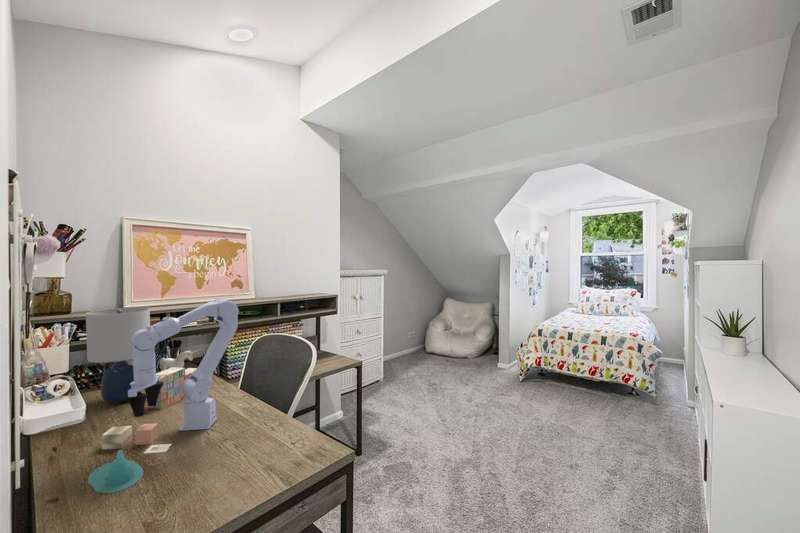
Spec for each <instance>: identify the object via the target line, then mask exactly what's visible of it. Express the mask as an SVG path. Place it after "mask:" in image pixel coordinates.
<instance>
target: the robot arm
mask: <svg viewBox="0 0 800 533" xmlns="http://www.w3.org/2000/svg"><path fill="white" fill-rule="evenodd" d="M239 313H240V310H239V307H238V305H237V304H236V303H235V301H233V300H227V299H224V298H216V299H214V300H211V301H208V302H206V303H204V304H202V305H200V306H198V307H196V308H194V309H192V310H190V311H188V312H186V313H185V314H183V315H181V316H178V317H177V318H176V317H172V316H170V317H167V316H165V317H163V318H162V319H161V321H159V322H157V323H155V324H152V325H151V324H150V325H149V326H147V327H146V328H147V330H146V329H141V330H138V331H136V332H135V333H134V334H133V335H132V337H131V339H130V341H131V344H132V345H133V346H135V347H133V353H134V354H133V359H132V365H133V370H134V382H132V383H130V386H132V387H131V389H130V390H128V394H127V395H126V396H125V399H126V400H127V401H126V402H128V404H129V406H130V407H131V410H132V412H133V416H134V417H135V418H137V417H138V418H140V417H143V416H144V415H145V414H144V413H145V405H146V402H147V407H148V406H156V404H157V400H158V396H159V393H160V390H161V388H162V386H163V382H158V381H160V375H156V374H157V370H156V352H155V349H156V348H155V346H157V344H158V343H160V342H162V341H165V340H166V339H168V338H170V337H173V336H175V335H177V334H178V333H180V332H181V329H182V327H184V326H187V325H190V324H192V323H194V322H197V321H199V320H201V319H203V318H206V317H212V318H213V317H215V318H216V319H217V323H218V324H219V329H218V330H217V332H216V334H215V336H214V338H213V340H212V341H211V344H209V347H208V348H207V351H206V352H205V354H204V357H203V358H202V360H201V361H200V363H199V365H198V366H197V367H196V368H197V369H196V370H195V371H194V372H192V373H191V375H190V377H189V378H188V379H186V380H185V381H184V382H183V384H182V387H181V389H182V392H183V393H184V394H185V398H183V425H181V427H180V428H179V429H178V431H180V432H181V431H196V430H198V431H199V430H209V429H210V428H211V427H212V425H214V423H215V422H216V420H217V419H218V418H217V401H216V399H215V398H211V397H209V394H210V391H211V390H210V389H211V385H212V383H213V374H214V372H215V370H216V369H217V367H218V364H220V362H221V360H222V357H223V356H224V354H225V351H226V350H227V348H228V346H229V345H230V342H231V341H232V340H233V337H234V335H235V334H236V332H237V330H238V326H239V324H238V323H239V321H238V320H239ZM143 391H144V392H145V393H143Z"/></svg>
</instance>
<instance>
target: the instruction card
mask: <svg viewBox="0 0 800 533" xmlns="http://www.w3.org/2000/svg"><path fill="white" fill-rule="evenodd" d="M172 444H173V443H167V444H165V443H163V444H153V445H152V444H150V446H149V447H148V448H147V449H146V450H145V451H144V452H143V453H142V454H143V455H144V454H145V455H146V454H156V453H157V454H160V453H161V454H162V453H166V452H167V451H168V450H169V449H170V448H171V447H172V446H171V445H172ZM170 446H171V447H170ZM169 447H170V448H169Z"/></svg>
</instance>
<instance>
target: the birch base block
mask: <svg viewBox="0 0 800 533" xmlns="http://www.w3.org/2000/svg"><path fill="white" fill-rule="evenodd" d="M132 440H133V425H122V426H121V425H120V426H112V427H110V428H109V429H107V431H106V432H104V433H103V434H102V435H101V450H113V449H123V448H124V447H126V446H127V444H129V443H130V442H131V441H132Z"/></svg>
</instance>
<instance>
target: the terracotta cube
mask: <svg viewBox="0 0 800 533" xmlns="http://www.w3.org/2000/svg"><path fill="white" fill-rule="evenodd" d="M134 434H135V436H134V439H135V440H134V441H135V442H134V443H135V445H136V446H137V445H138V446H139V445H152V444H153V443H154V442H155V441H156V440H157V439H158V438H159V437H160V432H159V423H158V422H157V423H144V424H142V425H140V426H139V427H138V428H136V430H134Z"/></svg>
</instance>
